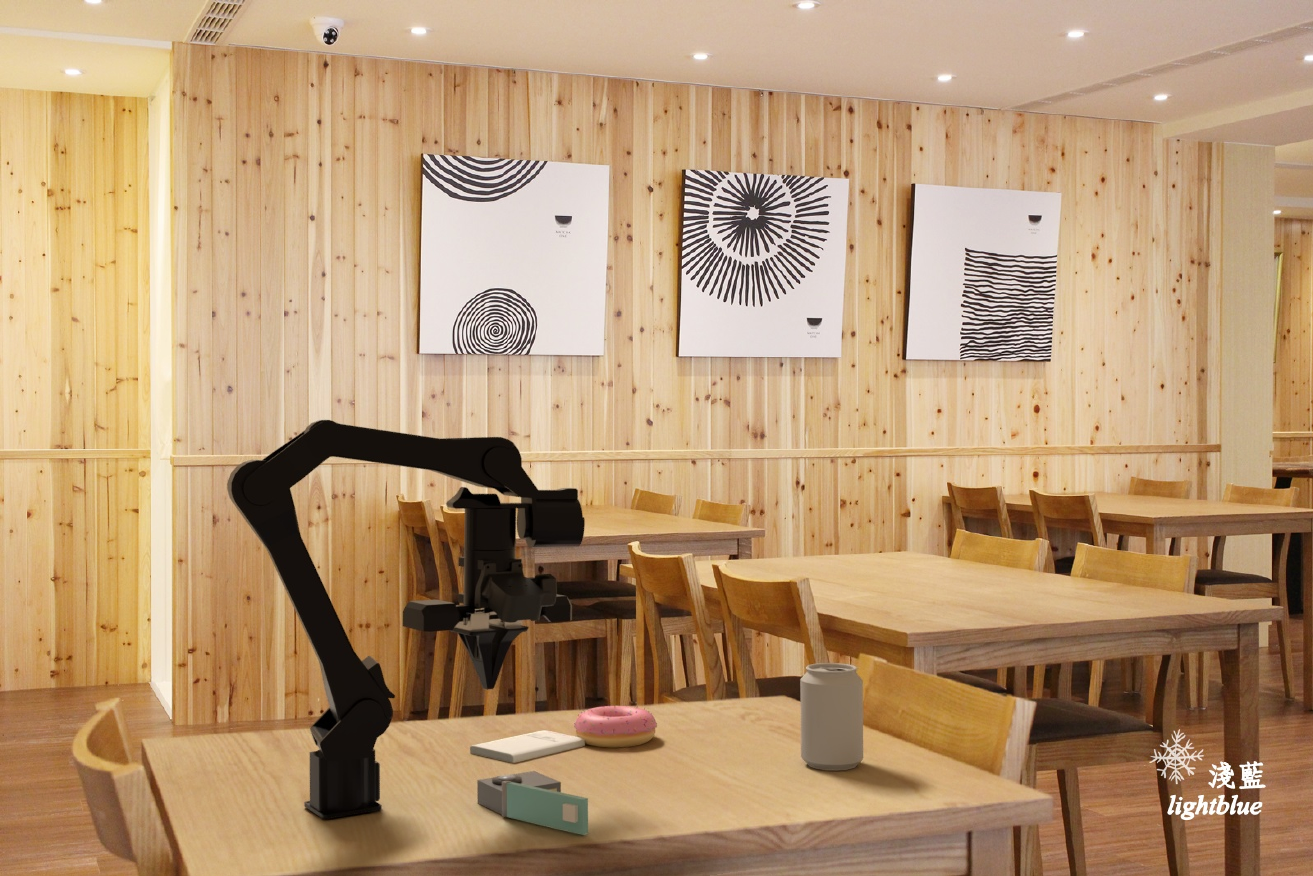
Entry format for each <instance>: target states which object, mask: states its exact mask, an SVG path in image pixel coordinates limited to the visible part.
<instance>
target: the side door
mask: <svg viewBox="0 0 1313 876" xmlns="http://www.w3.org/2000/svg"><path fill="white" fill-rule="evenodd" d="M501 817H504V818H510V819H514V820H518V821H523V822H527V823H532V824H535V825H540V826H543V827H549V828H552V829H557V830H561V831H565V832H569V833H574V834H578V835H581V836H584V835H587V834H589V798H588V797H583V796H579V795H575V794H570V793H564V792H562V791H561V792H557V791H552V790H547V789H542V788H538V787H533V786H528V785H524V784H519V783H514V782H511V781H503V782H502V815H501Z"/></svg>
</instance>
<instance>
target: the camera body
mask: <svg viewBox="0 0 1313 876" xmlns="http://www.w3.org/2000/svg"><path fill="white" fill-rule="evenodd" d="M503 781H511V782H514V783H519V784H524V785H528V786H533V787H538V788H542V789H547V790H552V791H557V792H561V793H562V783H561V781H559V780H557V779H554V778H553V777H550V776H548V775H545V774H542V773H540V772H538V771H535V770H532V771H531V770H530V771H525V772H519V773H511V774H504V775H502V774H501V775H497V776H495V777H494V776H493V777H488V778H480V779H477V780H476V782H477V787H476V788H477V791H476V792H477V804H479V805H480V806H482V807H485V808H487V809H489V810H491V811H492V812H495V813H497V814H499V815H500V816H502V782H503Z"/></svg>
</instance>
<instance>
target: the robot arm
mask: <svg viewBox="0 0 1313 876" xmlns="http://www.w3.org/2000/svg"><path fill="white" fill-rule="evenodd" d="M333 457H334V458H338V459H340V458H341V459H348V460H353V461H362V462H369V463H376V464H384V465H391V466H398V467H405V468H411V469H418V470H419V469H420V470H427V471H431V472H434V473H437V474H440V475H442V476H445V477H449V478H452V479H454V480H457V481H460V482H463V483H467V484H469V485H473V486H475V487H479V488H485V489H494V490H495V491H497V492H498V493H500V494H501V495H503V496H508V497H513V498H514V497H516V498H520V502H501V500H500V497H499V496H498V494H497V493H472V492H471V491H470V489H469V488H468V487H465V486H460V487H459V489H458V491H457V492H456V494H454V496H453V497H451V498H450V499H448V500H447V501H446V503H445V504H446V507H447V508H451V509H456V510H458V509H462V510H464V531H463V532H464V537H463V538H464V540H463V541H464V543H463V544H464V545H463V546H464V547H463V548H464V549H463V553H464V554H463V556H458V567H462V568H463V592H462V593H457V596H458V597H457V603H459V604H457V605H456V603H455V602H450V601H446V600H441V599H438V598H437V599H425V600H424V599H422V600H410V601H408V602H407V603H406V605H405V607H404V608H403V610H402V627H404V628H408V629H411V630H417V631H420V632H424V633H425V632H426V633H427V632H429V633H430V632H432V633H433V632H444V631H450V632H453V633H457V635H458V637H459V639H460V640H461V642H462V644H463V646H464V647H465V650H466V652H467V653H468V655H469V658H470V660H471V662H472V664H473V667H474V669H475V672H476V675H477V676H478V678H479V681H480V684H481V686H482V688H483V689H484V690H493V689H494V688H496V687H495V686H496V684H497V680H498V678H499V675H500V672H501V670H502V667H503V665H504V661H505V659H506V656H507V654H508V652H509V649H510V648H511V645H512V643H513V642H514V640H516V638H518V636H519V635H520V634H522V633H526V632H528V630H529V628H530V627H529V626H527V625H523V621H528V620H529V621H531V622H536V621H539V620H540V619H541V617H544V618H545V620H547V622H548V623H558V622H570V621H572V620H573V605H572V603H571V600H570V599H569V598H568V596H567V595H562V594H558V587H557V578H556V577H555V576H554V575H553V574H551V573H543V574H541V573H540V574H536V575H535V576H532V577H528V576H527V577H526V576H525V575H524V574H525V573H524V565H523V562H522V561H523V560H522V558H518V557H516V554H517V552H516V547H517V545H516V544H517V537H518V538H519V539H520V540H525V543H526V544H527V545H526V546H527V547H528V548H529V549H537V548H538V549H545V548H547V549H550V548H579V547H580V546H581V544H582V542H583V539H584V535H585V525H586V524H585V523H586V521H585V517H584V515H583V510H582V509H583V508H582V505H581V502H580V501H579V490H578V489H577V488H574V487H573V488H572V487H562V488H561V487H560V488H557V489H538V487H537V486H536V484H535V482H533V481H532V479H531V478H530V476H529V475H528V473H527V472H526V470H524V468H523V466H522V464H523V463H522V462H523V461H522V456H521V453H520V449H518V447H517V445H516V444H515V443H514V442H513V441H511V440H510V439H508V438H505V437H501V436H487V437H486V436H484V437H482V436H480V437H478V436H477V437H453V438H452V437H446V438H445V437H444V438H438V437H433V436H425V435H417V434H412V433H411V434H410V433H404V432H397V431H392V430H391V431H390V430H386V429H376V428H371V427H364V426H357V425H350V424H344V423H338V422H337V421H333V420H330V419H319V420H316V421H314V422H311V423H309V425H308V426H306V428H305V429H304V430H303V431H302V432H301V433H299V434H297V435H296V436H295V437H293V438H291V440H289V441H287V442H286V443H284V444H283V445H281V446H280V447H278V448H277V449H275V450H274V451H273V452H270V453H269V454H268V455H267V456H266V457H264V458H263V459H250V460H247V461H246V460H245V461H243V462H242V463H240V464H237V466H235V468H234V469H233V470H232V471H231V472H230V475H229V477H228V479H227V483H226V486H227V487H226V489H227V493H228V497H229V499H230V500H231V502H232V504H233V505H234V506H235V508H236V510H237V511H238V513H240V515H241V516H242V518H243V519H244V520H245V522H246V523H247V525H248V526H249V527H250V529H251V530H252V531H253V533H254V534H255V535H256V536H257V538H258V539H259V541H260V542H261V544H262V545H263V547H264V548H265V549H266V551H267V554H268V555H269V558H270V559H271V562H272V564H273V566H274V569H275V571H276V572H277V575H278V576H279V579H280V581H281V583H282V585H283V587H284V590H285V591H286V594H287V596H288V598H289V600H290V602H291V604H292V607H293V609H294V611H295V613H296V616H297V617H298V619H299V622H300V623H301V626H302V628H303V631H304V632H305V634H306V637H307V639H308V640H309V641H308V642H309V643H310V645H311V647H312V650H313V651H314V653H315V656H316V658H317V660H318V664H319V667H320V673H321V677H322V681H323V686H324V691H325V695H326V699H327V702H328V708H327V709H326V710H325V711H324V712H323V713H322V715H321V716H319V717H318V718H317V719H316V721H314V723H313V724H312V725H311V726H310V727H309V731H310V733H311V736H312V739H313V741H314V744H315V745H316V746H317V747H318V748H319V749H317V750H315V751H310V752H309V800H307V801H304V802H303V803H304V805H303V806H304V808H305V809H308V811H311V812H312V813H314V814H315V815H316V816H318V817H319V818H320V819H323V820H327V819H334V818H341V817H342V818H343V817H347V816H351V815H359V814H364V813H370V812H377V811H381V810H382V809H383V808H382V807H383V806H382V804H381V803H379V801H380V799H381V782H380V781H381V774H380V772H381V771H380V770H381V764H380V762H378V761H376V749H374V748H375V745H376V742H377V741H378V740H377V739H378V738H379V737H380V736H382V735H383V734H384V733H386V731H387V730H388V728H389V727H390V725H391V722H392V719H393V716H394V709H393V708H394V707H393V705H392V702H391V700H390V699H395V698H396V695H395V694H394V693H393V692H392V691H391V690H390V689H389V687H388V686H387V684H386V682H385V678H384V673H383V671H382V667H381V664H380V663H379V661H377V660H376V659H375V658H374V657H372V656H371V655H368V656H366V657H365V658H364V659H362V660H361V658H360V657H359V655H358V654H357V653H356V652H355V650H354V648H353V646H352V644H351V641H350V639H349V637H348V635H347V633H346V631H345V629H344V627H343V625H342V622H341V620H340V617H339V615H338V613H337V611H336V609H335V607H334V604H333V603H332V600H331V599H330V596H329V594H328V591H327V590H326V588H325V585H324V583H323V581H322V579H321V577H320V574H319V572H318V570H317V568H316V566H315V563H314V561H313V560H312V557H311V555H310V553H309V550H308V548H307V547H306V544H305V542H304V540H303V538H302V535H301V532H300V526H299V522H298V516H297V511H296V506H295V503H294V502H295V501H294V499H293V494H292V491H291V488H292V487H294V486H295V485H297V484H298V483H299V482H300V481H302V480H303V479H305V478H306V476H308V475H309V474H311V473H312V472H313V471H315V470H316V468H318V467H319V466H320V465H321V464H322V463H324V462H325V461H327V460H328V459H329V458H333Z"/></svg>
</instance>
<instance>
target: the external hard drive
mask: <svg viewBox="0 0 1313 876" xmlns="http://www.w3.org/2000/svg"><path fill="white" fill-rule="evenodd" d="M581 747H582V748H583V747H586V744H585V740H584V739H583V738H581V737H577V735H576V736H575V735H570V734H569V735H568V734H565V733H561V732H556V731H551V730H547V729H546V730H545V729H544V730H537V731H534V732H530V733H529V732H528V733H524V734H520V735H515V736H510V737H504V738H501V739H495V740H492V741H488V742H482V743H481V742H480V743H478V744H472V745H470V746H469V753H470V754H471V755H476V756H481V757H486V758H489V759H494V760H497V761H502V762H506V763H510V764H516V763H519V762H523V761H529V760H531V759H536V758H537V759H538V758H541V757H545V756H548V755H553V754H557V753H561V752H566V751H569V750H574V749H577V748H581Z"/></svg>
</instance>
